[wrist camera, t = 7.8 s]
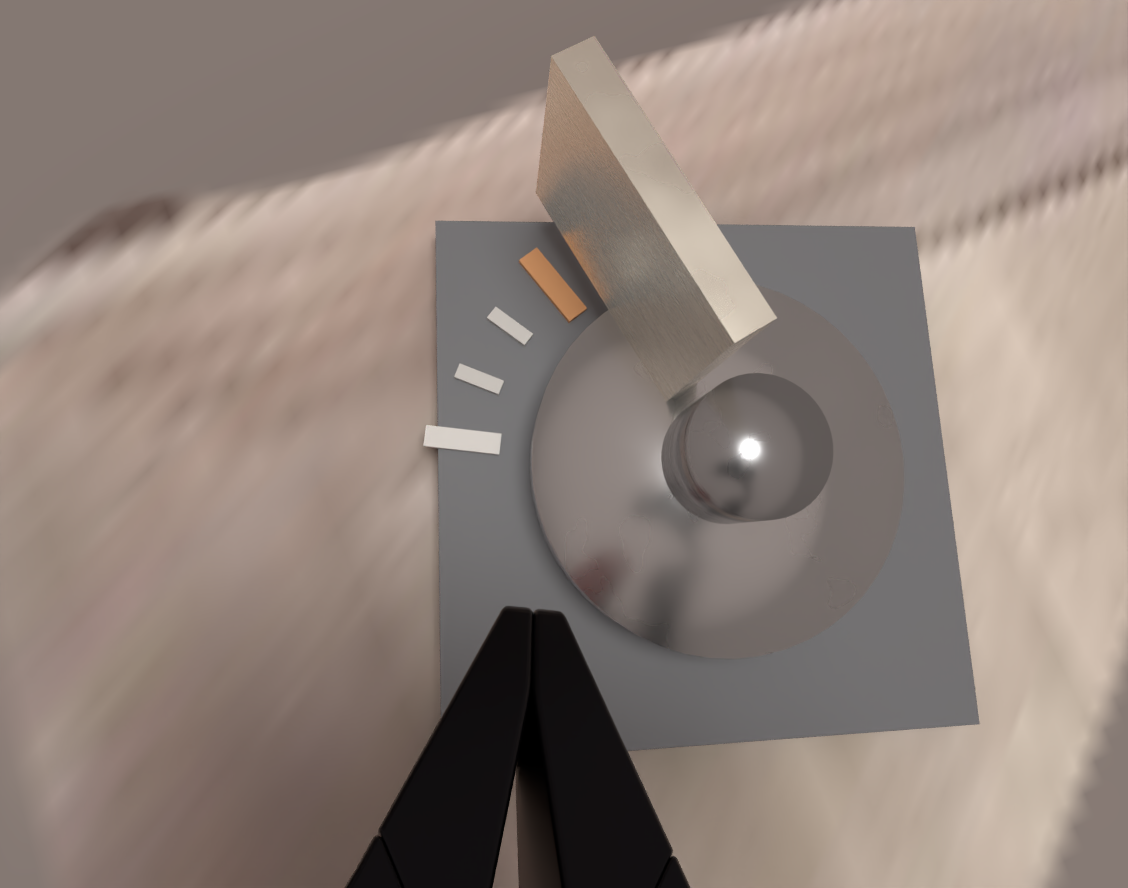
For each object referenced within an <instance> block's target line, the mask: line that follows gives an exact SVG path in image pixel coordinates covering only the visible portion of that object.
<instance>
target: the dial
mask: <svg viewBox="0 0 1128 888" xmlns="http://www.w3.org/2000/svg"><path fill="white" fill-rule="evenodd" d="M536 194H537V196H538V197H539V199H540V200H541V202H542V204H543V205H544V207H545V208H546V210H547V212H548V213H549V215H550V217H551V218H552V220H553V221H554V223H555V225H556V226H557V228H558V229H559V231H560V233H561V234H562V236H563V237H564V239H565V241H566V242H567V244H568V245H569V247H570V249H571V250H572V252H573V253H574V255H575V257H576V258H577V260H578V261H579V263H580V265H581V266H582V268H583V270H584V271H585V273H586V274H587V276H588V278H589V279H590V281H591V282H592V284H593V286H594V287H595V289H596V290H597V292H598V294H599V295H600V297H601V298H602V300H603V302H604V303H605V305H606V306H607V308H608V311H606V312H605V313H603V314H602V315H601V316H600V317H599V318H597V319H596V320H595V321H594V322H593V323H592V324H590V325H589V326H588V327H587V328H586V329H585V330H584V331H583V332H582V333H581V334H580V336H579V337H578V338H577V339H576V340H575V341H574V342H573V343H572V345H571V346H570V347H569V349H568V350H567V352H566V353H565V355H564V356H563V358H562V359H561V361H560V362H559V364H558V365H557V367H556V369H555V371H554V373H553V375H552V377H551V379H550V381H549V383H548V385H547V387H546V390H545V393H544V396H543V399H542V402H541V405H540V408H539V411H538V414H537V417H536V421H535V425H534V430H533V435H532V441H531V448H530V467H529V469H530V482H531V493H532V498H533V503H534V507H535V512H536V516H537V519H538V522H539V525H540V527H541V530H542V533H543V536H544V539H545V541H546V543H547V545H548V546H549V548H550V550H551V552H552V554H553V556H554V558H555V560H556V562H557V563H558V565H559V566H560V567H561V569H562V570H563V572H564V573H565V575H566V576H567V578H568V579H569V580H570V582H571V583H572V584H573V585H574V586H575V587H576V588H577V589H578V591H579V592H580V593H581V594H582V595H583V596H584V597H585V598H586V599H587V600H588V601H589V602H590V603H592V604H593V605H594V606H595V607H596V608H597V609H599V610H600V611H601V612H602V613H603V614H605V615H606V616H608V617H609V618H611V619H612V620H614V621H615V622H617V623H618V624H620V625H622V626H623V627H625V628H626V629H628V630H629V631H631V632H633V633H634V634H636V635H638V636H640V637H642V638H644V639H646V640H648V641H651V642H653V643H655V644H657V645H659V646H662V647H665V648H668V649H671V650H674V651H678V652H681V653H684V654H689V655H695V656H701V657H707V658H726V659H738V658H747V657H756V656H762V655H766V654H770V653H774V652H778V651H782V650H785V649H788V648H790V647H792V646H795V645H797V644H800V643H802V642H804V641H807V640H809V639H810V638H812V637H814V636H815V635H817V634H819V633H820V632H822V631H824V630H825V629H827V628H829V627H830V626H831V625H832V624H834V623H835V622H836V621H837V620H839V619H840V618H841V617H842V616H844V615H845V614H846V613H847V612H848V611H849V610H850V609H851V608H852V607H853V606H854V605H855V604H856V603H857V602H858V601H859V600H860V598H861V597H862V596H863V595H864V594H865V593H866V591H867V590H868V588H869V587H870V586H871V584H872V583H873V581H874V580H875V578H876V577H877V576H878V574H879V572H880V570H881V568H882V566H883V564H884V562H885V560H886V558H887V556H888V555H889V552H890V549H891V547H892V544H893V541H894V538H895V536H896V533H897V529H898V525H899V520H900V516H901V511H902V505H903V494H904V460H903V453H902V447H901V441H900V435H899V431H898V428H897V424H896V421H895V418H894V414H893V411H892V409H891V406H890V404H889V402H888V399H887V397H886V395H885V392H884V390H883V388H882V386H881V385H880V383H879V381H878V379H877V378H876V376H875V374H874V372H873V371H872V369H871V367H870V366H869V365H868V363H867V362H866V361H865V359H864V358H863V357H862V355H861V354H860V353H859V351H858V350H857V349H856V348H855V347H854V346H853V345H852V343H851V342H850V341H849V340H848V339H847V338H846V337H845V336H844V335H843V334H842V333H841V332H840V331H839V330H838V329H837V328H835V327H834V326H833V325H832V324H831V323H829V322H828V321H827V320H826V319H825V318H823V317H822V316H821V315H819V314H818V313H816V312H814V311H813V310H811V309H810V308H808V307H807V306H805V305H804V304H802V303H800V302H798V301H796V300H794V299H792V298H790V297H788V296H786V295H784V294H782V293H779V292H776V291H773V290H771V289H768V288H765V287H762V286H759V285H755V283H754V282H753V280H752V278H751V277H750V275H749V274H748V272H747V271H746V269H745V268H744V266H743V265H742V263H741V261H740V260H739V258H738V257H737V255H736V254H735V252H734V251H733V249H732V248H731V246H730V244H729V243H728V241H727V240H726V238H725V237H724V235H723V234H722V232H721V231H720V229H719V227H718V226H717V224H716V223H715V221H714V220H713V218H712V217H711V215H710V214H709V212H708V210H707V209H706V207H705V206H704V204H703V203H702V201H701V200H700V198H699V197H698V195H697V193H696V192H695V190H694V189H693V187H692V186H691V184H690V183H689V181H688V180H687V178H686V176H685V175H684V173H683V172H682V170H681V169H680V167H679V166H678V164H677V163H676V161H675V159H674V158H673V156H672V155H671V153H670V152H669V150H668V149H667V147H666V146H665V144H664V142H663V141H662V139H661V138H660V136H659V135H658V133H657V132H656V130H655V129H654V127H653V125H652V124H651V122H650V121H649V119H648V118H647V116H646V115H645V113H644V112H643V110H642V108H641V107H640V105H639V104H638V102H637V101H636V99H635V98H634V96H633V95H632V93H631V91H630V90H629V88H628V87H627V85H626V84H625V82H624V81H623V79H622V78H621V76H620V74H619V73H618V71H617V70H616V68H615V67H614V65H613V64H612V62H611V61H610V59H609V57H608V56H607V54H606V53H605V52H604V50H603V48H602V47H601V45H600V44H599V42H598V41H597V39H596V37H595V36H593V37H591V38H589V39H587V40H585V41H582V42H580V43H578V44H576V45H574V46H572V47H570V48H568V49H565V50H563V51H561V52H559V53H557V54H555V55H553V56H551V64H550V73H549V81H548V90H547V99H546V108H545V117H544V126H543V135H542V144H541V152H540V161H539V170H538V179H537V188H536Z"/></svg>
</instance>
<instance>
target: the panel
mask: <svg viewBox="0 0 1128 888" xmlns="http://www.w3.org/2000/svg"><path fill="white" fill-rule="evenodd" d="M717 226H718V227H719V229H720V231H721V232H722V234H723V235H724V237H725V238H726V240H727V241H728V243H729V244H730V246H731V248H732V249H733V251H734V252H735V254H736V255H737V257H738V258H739V260H740V261H741V263H742V265H743V266H744V268H745V269H746V271H747V272H748V274H749V275H750V277H751V278H752V280H753V282H754V283H755V285H759V286H762V287H765V288H768V289H771V290H773V291H776V292H779V293H782V294H784V295H786V296H788V297H790V298H792V299H794V300H796V301H798V302H800V303H802V304H804V305H805V306H807V307H808V308H810V309H811V310H813V311H814V312H816V313H818V314H819V315H821V316H822V317H823V318H825V319H826V320H827V321H828V322H829V323H831V324H832V325H833V326H834V327H835V328H837V329H838V330H839V331H840V332H841V333H842V334H843V335H844V336H845V337H846V338H847V339H848V340H849V341H850V342H851V343H852V345H853V346H854V347H855V348H856V349H857V350H858V351H859V353H860V354H861V355H862V357H863V358H864V359H865V361H866V362H867V363H868V365H869V366H870V367H871V369H872V371H873V372H874V374H875V376H876V378H877V379H878V381H879V383H880V385H881V386H882V388H883V390H884V392H885V395H886V397H887V399H888V402H889V404H890V406H891V409H892V411H893V414H894V418H895V421H896V424H897V428H898V431H899V435H900V441H901V447H902V453H903V460H904V494H903V505H902V511H901V516H900V520H899V525H898V529H897V533H896V536H895V538H894V541H893V544H892V547H891V549H890V552H889V555H888V556H887V558H886V560H885V562H884V564H883V566H882V568H881V570H880V572H879V574H878V576H877V577H876V578H875V580H874V581H873V583H872V584H871V586H870V587H869V588H868V590H867V591H866V593H865V594H864V595H863V596H862V597H861V598H860V600H859V601H858V602H857V603H856V604H855V605H854V606H853V607H852V608H851V609H850V610H849V611H848V612H847V613H846V614H845V615H844V616H842V617H841V618H840V619H839V620H837V621H836V622H835V623H834V624H832V625H831V626H830V627H829V628H827V629H825V630H824V631H822V632H820V633H819V634H817V635H815V636H814V637H812V638H810V639H809V640H807V641H804V642H802V643H800V644H797V645H795V646H792V647H790V648H788V649H785V650H782V651H778V652H774V653H770V654H766V655H762V656H756V657H747V658H738V659H726V658H707V657H701V656H695V655H689V654H684V653H681V652H678V651H674V650H671V649H668V648H665V647H662V646H659V645H657V644H655V643H653V642H651V641H648V640H646V639H644V638H642V637H640V636H638V635H636V634H634V633H633V632H631V631H629V630H628V629H626V628H625V627H623V626H622V625H620V624H618V623H617V622H615V621H614V620H612V619H611V618H609V617H608V616H606V615H605V614H603V613H602V612H601V611H600V610H599V609H597V608H596V607H595V606H594V605H593V604H592V603H590V602H589V601H588V600H587V599H586V598H585V597H584V596H583V595H582V594H581V593H580V592H579V591H578V589H577V588H576V587H575V586H574V585H573V584H572V583H571V582H570V580H569V579H568V578H567V576H566V575H565V573H564V572H563V570H562V569H561V567H560V566H559V565H558V563H557V562H556V560H555V558H554V556H553V554H552V552H551V550H550V548H549V546H548V545H547V543H546V541H545V539H544V536H543V533H542V530H541V527H540V525H539V522H538V519H537V516H536V512H535V507H534V503H533V498H532V493H531V482H530V469H529V467H530V448H531V441H532V435H533V430H534V425H535V421H536V417H537V414H538V411H539V408H540V405H541V402H542V399H543V396H544V393H545V390H546V387H547V385H548V383H549V381H550V379H551V377H552V375H553V373H554V371H555V369H556V367H557V365H558V364H559V362H560V361H561V359H562V358H563V356H564V355H565V353H566V352H567V350H568V349H569V347H570V346H571V345H572V343H573V342H574V341H575V340H576V339H577V338H578V337H579V336H580V334H581V333H582V332H583V331H584V330H585V329H586V328H587V327H588V326H589V325H590V324H592V323H593V322H594V321H595V320H596V319H597V318H599V317H600V316H601V315H602V314H603V313H605V312H606V311H608V308H607V306H606V305H605V303H604V302H603V300H602V298H601V297H600V295H599V294H598V292H597V290H596V289H595V287H594V286H593V284H592V282H591V281H590V279H589V278H588V276H587V274H586V273H585V271H584V270H583V268H582V266H581V265H580V263H579V261H578V260H577V258H576V257H575V255H574V253H573V252H572V250H571V249H570V247H569V245H568V244H567V242H566V241H565V239H564V237H563V236H562V234H561V233H560V231H559V229H558V228H557V226H556V225H555V223H554V222H490V221H436V309H437V403H438V426H431V425H426V430H425V437H424V445H423V446H424V447H432V448H438V496H439V590H440V684H441V717H442V715H443V713H444V712H445V710H446V708H447V706H448V704H449V703H450V701H451V699H452V697H453V695H454V694H455V692H456V690H457V688H458V687H459V685H460V683H461V681H462V679H463V678H464V676H465V674H466V672H467V670H468V669H469V667H470V665H471V663H472V661H473V660H474V658H475V656H476V654H477V653H478V651H479V649H480V647H481V645H482V644H483V642H484V640H485V638H486V636H487V635H488V633H489V631H490V629H491V627H492V626H493V624H494V622H495V620H496V618H497V617H498V615H499V613H500V611H501V610H502V609H503V608H504V607H505V606H517V607H527V608H530V609H531V610H532V612H534V611H535V610H536V609H546V610H556V611H561V612H562V613H563V614H564V615H565V617H566V618H567V621H568V623H569V625H570V627H571V629H572V631H573V634H574V636H575V638H576V640H577V642H578V645H579V647H580V649H581V651H582V653H583V655H584V658H585V660H586V662H587V664H588V666H589V669H590V671H591V673H592V675H593V677H594V679H595V682H596V684H597V686H598V688H599V690H600V692H601V695H602V697H603V699H604V701H605V703H606V706H607V708H608V710H609V712H610V714H611V716H612V719H613V721H614V723H615V725H616V727H617V730H618V732H619V734H620V736H621V738H622V740H623V743H624V745H625V747H626V749H627V751H632V750H646V749H659V748H672V747H685V746H698V745H711V744H725V743H738V742H751V741H764V740H777V739H790V738H804V737H817V736H830V735H843V734H856V733H869V732H882V731H896V730H909V729H922V728H935V727H948V726H961V725H975V724H979V716H978V709H977V701H976V693H975V686H974V678H973V670H972V663H971V655H970V647H969V640H968V632H967V624H966V617H965V609H964V601H963V594H962V586H961V578H960V571H959V563H958V555H957V548H956V540H955V532H954V525H953V517H952V509H951V502H950V494H949V486H948V479H947V471H946V463H945V456H944V448H943V440H942V433H941V425H940V417H939V410H938V402H937V394H936V387H935V379H934V371H933V364H932V356H931V348H930V341H929V333H928V325H927V318H926V310H925V303H924V295H923V287H922V280H921V272H920V264H919V257H918V249H917V241H916V234H915V227H869V226H793V225H717Z"/></svg>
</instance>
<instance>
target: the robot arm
mask: <svg viewBox="0 0 1128 888" xmlns="http://www.w3.org/2000/svg"><path fill="white" fill-rule="evenodd" d="M515 771H516V808H517V842H518V876H519V888H690V886H689V884H688V881H687V879H686V877H685V875H684V873H683V870H682V868H681V866H680V864H679V862H678V860H677V858H676V857H675V856H672V857H671V855H672V853H673V850H672V847H671V845H670V843H669V841H668V838H667V836H666V834H665V832H664V830H663V828H662V825H661V823H660V821H659V819H658V817H657V814H656V812H655V810H654V808H653V806H652V804H651V801H650V799H649V797H648V795H647V793H646V791H645V788H644V786H643V784H642V782H641V780H640V777H639V775H638V773H637V771H636V769H635V767H634V764H633V762H632V760H631V758H630V756H629V753H628V751H627V749H626V747H625V745H624V743H623V740H622V738H621V736H620V734H619V732H618V730H617V727H616V725H615V723H614V721H613V719H612V716H611V714H610V712H609V710H608V708H607V706H606V703H605V701H604V699H603V697H602V695H601V692H600V690H599V688H598V686H597V684H596V682H595V679H594V677H593V675H592V673H591V671H590V669H589V666H588V664H587V662H586V660H585V658H584V655H583V653H582V651H581V649H580V647H579V645H578V642H577V640H576V638H575V636H574V634H573V631H572V629H571V627H570V625H569V623H568V621H567V618H566V617H565V615H564V614H563V613H562V612H561V611H556V610H546V609H536V610H535V611H534V612H532V610H531V609H530V608H527V607H517V606H505V607H504V608H503V609H502V610H501V611H500V613H499V615H498V617H497V618H496V620H495V622H494V624H493V626H492V627H491V629H490V631H489V633H488V635H487V636H486V638H485V640H484V642H483V644H482V645H481V647H480V649H479V651H478V653H477V654H476V656H475V658H474V660H473V661H472V663H471V665H470V667H469V669H468V670H467V672H466V674H465V676H464V678H463V679H462V681H461V683H460V685H459V687H458V688H457V690H456V692H455V694H454V695H453V697H452V699H451V701H450V703H449V704H448V706H447V708H446V710H445V712H444V713H443V715H442V717H441V719H440V721H439V722H438V724H437V726H436V728H435V729H434V731H433V733H432V735H431V737H430V738H429V740H428V742H427V744H426V746H425V747H424V749H423V751H422V753H421V755H420V756H419V758H418V760H417V762H416V763H415V765H414V767H413V769H412V771H411V772H410V774H409V776H408V778H407V780H406V781H405V783H404V785H403V787H402V789H401V790H400V792H399V794H398V796H397V798H396V799H395V801H394V803H393V805H392V806H391V808H390V810H389V812H388V814H387V815H386V817H385V819H384V821H383V823H382V824H381V826H380V828H379V830H378V835H377V836H375V837H374V838H373V840H372V841H371V843H370V845H369V847H368V849H367V850H366V852H365V854H364V856H363V858H362V859H361V861H360V863H359V865H358V866H357V868H356V870H355V872H354V873H353V875H352V877H351V878H350V880H349V882H348V883H347V885H346V887H345V888H492V887H493V882H494V877H495V872H496V867H497V862H498V857H499V852H500V847H501V842H502V836H503V831H504V826H505V821H506V816H507V811H508V806H509V801H510V796H511V791H512V786H513V781H514V776H515ZM670 857H671V858H670Z"/></svg>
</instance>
